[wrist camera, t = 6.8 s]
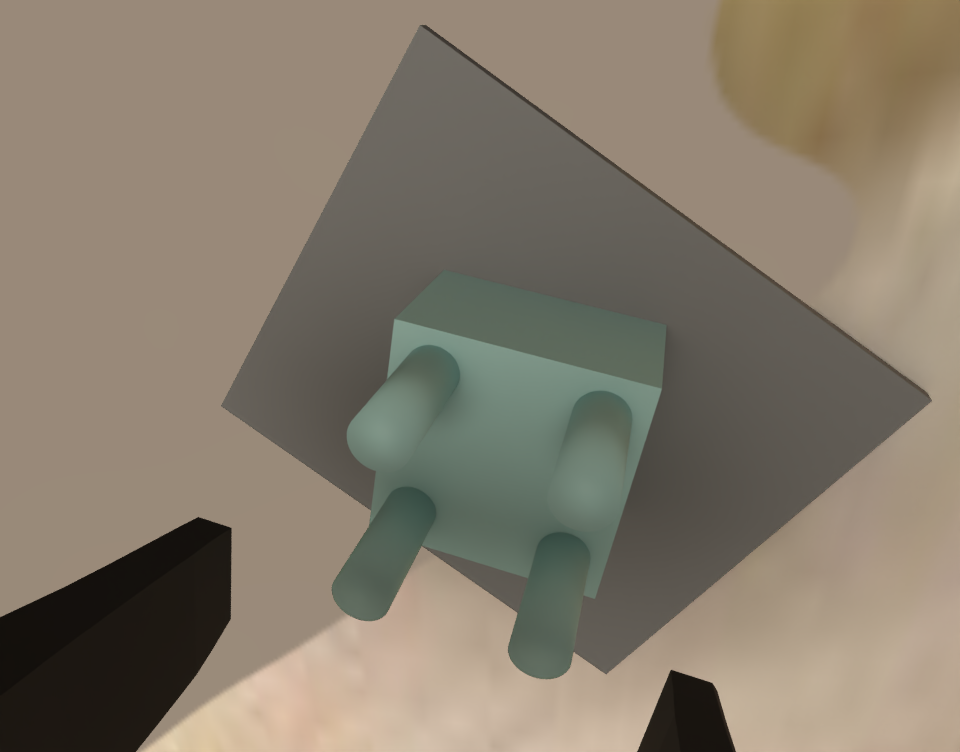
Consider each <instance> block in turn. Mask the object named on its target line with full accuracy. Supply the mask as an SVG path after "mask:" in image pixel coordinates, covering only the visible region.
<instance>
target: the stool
mask: <svg viewBox="0 0 960 752" xmlns="http://www.w3.org/2000/svg"><path fill="white" fill-rule="evenodd" d="M666 327H667V325H664V324H660V323H656V322H652V321H648V320H644V319H640V318H636V317H632V316H628V315H624V314H620V313H616V312H612V311H608V310H604V309H600V308H596V307H592V306H588V305H584V304H580V303H576V302H572V301H568V300H564V299H560V298H556V297H552V296H548V295H543V294H539V293H535V292H531V291H527V290H523V289H519V288H515V287H511V286H507V285H503V284H499V283H495V282H491V281H487V280H483V279H479V278H475V277H471V276H467V275H463V274H459V273H455V272H451V271H447V270H444V271H443V272H442V273H441V274H439V275H438V276H437V277H436V278H435V279H434V280H433V281H432V282H431V283H430V284H429V285H428V286H427V287H426V288H425V289H424V290H423V291H422V292H421V293H420V294H419V295H418V296H417V297H416V298H415V299H414V300H413V301H412V302H411V303H410V304H409V305H408V306H407V307H406V308H405V309H404V310H403V311H402V312H401V313H400V314H399V315H398V316H397V317H396V318H395V319H394V326H393V334H392V342H391V351H390V359H389V367H388V375H387V380H386V381H385V383H384V384H383V385H382V386H381V387H380V388H379V390H378V391H377V392H376V393H375V394H374V395H373V397H372V398H371V399H370V400H369V401H368V402H367V404H366V405H365V406H364V407H363V408H362V409H361V411H360V412H359V413H358V414H357V415H356V416H355V417H354V419H353V420H352V421H351V422H350V424H349V426H348V429H347V443H348V446H349V449H350V451H351V452H352V454H353V455H354V457H355V458H356V459H357V460H358V461H359V462H360V463H361V464H363V465H364V466H366V467H367V468H369V469H371V470H374V471H376V474H375V483H374V491H373V499H372V507H371V516H370V524H369V528H368V529H367V530H366V532H365V533H364V535H363V537H362V538H361V540H360V541H359V543H358V544H357V546H356V548H355V549H354V551H353V552H352V554H351V555H350V557H349V559H348V560H347V562H346V563H345V565H344V566H343V568H342V569H341V571H340V572H339V574H338V575H337V577H336V579H335V580H334V582H333V585H332V594H333V598H334V600H335V602H336V603H337V605H338V606H339V607H340V608H341V609H342V610H343V611H344V612H345V613H346V614H348V615H350V616H351V617H353V618H356V619H359V620H363V621H375V620H378V619H380V618H382V617H383V616H385V615H386V613H387V612H388V610H389V608H390V606H391V604H392V602H393V600H394V598H395V596H396V594H397V592H398V590H399V588H400V587H401V585H402V583H403V581H404V579H405V577H406V575H407V573H408V571H409V569H410V567H411V565H412V563H413V561H414V559H415V557H416V555H417V554H418V552H419V550H420V548H421V546H425V547H428V548H431V549H435V550H438V551H441V552H444V553H448V554H451V555H454V556H457V557H461V558H464V559H467V560H470V561H474V562H477V563H480V564H483V565H486V566H490V567H493V568H496V569H499V570H503V571H506V572H509V573H512V574H516V575H519V576H522V577H525V578H528V580H527V584H526V587H525V591H524V594H523V597H522V601H521V604H520V608H519V611H518V615H517V618H516V621H515V625H514V628H513V632H512V635H511V639H510V642H509V646H508V653H509V656H510V659H511V661H512V662H513V664H514V665H515V666H516V667H517V668H518V669H519V670H521V671H522V672H524V673H525V674H527V675H529V676H532V677H535V678H540V679H553V678H557V677H560V676H562V675H563V674H565V673H566V672H567V671H568V669H569V668H570V665H571V661H572V656H573V650H574V645H575V639H576V634H577V629H578V623H579V618H580V612H581V607H582V602H583V596H587V597H590V598H593V599H595V597H596V594H597V591H598V588H599V585H600V582H601V579H602V575H603V572H604V569H605V566H606V563H607V560H608V557H609V553H610V550H611V547H612V544H613V541H614V538H615V535H616V531H617V528H618V525H619V522H620V519H621V516H622V513H623V510H624V506H625V503H626V500H627V497H628V494H629V491H630V488H631V484H632V481H633V478H634V475H635V472H636V469H637V466H638V463H639V459H640V456H641V453H642V450H643V447H644V444H645V441H646V437H647V434H648V431H649V428H650V425H651V422H652V419H653V415H654V412H655V409H656V406H657V403H658V400H659V397H660V394H661V390H662V382H663V368H664V354H665V340H666Z"/></svg>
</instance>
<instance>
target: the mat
mask: <svg viewBox="0 0 960 752" xmlns="http://www.w3.org/2000/svg"><path fill="white" fill-rule="evenodd" d="M444 270H447V271H451V272H455V273H459V274H463V275H467V276H471V277H475V278H479V279H483V280H487V281H491V282H495V283H499V284H503V285H507V286H511V287H515V288H519V289H523V290H527V291H531V292H535V293H539V294H543V295H548V296H552V297H556V298H560V299H564V300H568V301H572V302H576V303H580V304H584V305H588V306H592V307H596V308H600V309H604V310H608V311H612V312H616V313H620V314H624V315H628V316H632V317H636V318H640V319H644V320H648V321H652V322H656V323H660V324H664V325H667V327H666V340H665V354H664V368H663V382H662V390H661V394H660V397H659V400H658V403H657V406H656V409H655V412H654V415H653V419H652V422H651V425H650V428H649V431H648V434H647V437H646V441H645V444H644V447H643V450H642V453H641V456H640V459H639V463H638V466H637V469H636V472H635V475H634V478H633V481H632V484H631V488H630V491H629V494H628V497H627V500H626V503H625V506H624V510H623V513H622V516H621V519H620V522H619V525H618V528H617V531H616V535H615V538H614V541H613V544H612V547H611V550H610V553H609V557H608V560H607V563H606V566H605V569H604V572H603V575H602V579H601V582H600V585H599V588H598V591H597V594H596V597H595V599H593V598H590V597H587V596H583V602H582V607H581V612H580V618H579V623H578V629H577V634H576V639H575V645H574V650H573V652H575V653H576V654H578V655H579V656H581V657H582V658H583V659H585V660H586V661H588V662H589V663H591V664H592V665H593V666H595V667H596V668H598V669H599V670H601V671H602V672H604V673H605V674H607V673H608V672H609V671H610V670H612V669H613V668H614V667H615V666H616V665H618V664H619V663H620V662H621V661H622V660H624V659H625V658H626V657H627V656H628V655H630V654H631V653H632V652H633V651H634V650H635V649H637V648H638V647H639V646H640V645H641V644H643V643H644V642H645V641H646V640H647V639H649V638H650V637H651V636H652V635H653V634H655V633H656V632H657V631H658V630H659V629H661V628H662V627H663V626H664V625H665V624H666V623H668V622H669V621H670V620H671V619H672V618H674V617H675V616H676V615H677V614H678V613H680V612H681V611H682V610H683V609H684V608H686V607H687V606H688V605H689V604H690V603H692V602H693V601H694V600H695V599H696V598H697V597H699V596H700V595H701V594H702V593H703V592H705V591H706V590H707V589H708V588H709V587H711V586H712V585H713V584H714V583H715V582H717V581H718V580H719V579H720V578H721V577H722V576H724V575H725V574H726V573H727V572H728V571H730V570H731V569H732V568H733V567H734V566H736V565H737V564H738V563H739V562H740V561H742V560H743V559H744V558H745V557H746V556H748V555H749V554H750V553H751V552H752V551H753V550H755V549H756V548H757V547H758V546H759V545H761V544H762V543H763V542H764V541H765V540H767V539H768V538H769V537H770V536H771V535H773V534H774V533H775V532H776V531H777V530H779V529H780V528H781V527H782V526H783V525H784V524H786V523H787V522H788V521H789V520H790V519H792V518H793V517H794V516H795V515H796V514H798V513H799V512H800V511H801V510H802V509H804V508H805V507H806V506H807V505H808V504H809V503H811V502H812V501H813V500H814V499H815V498H817V497H818V496H819V495H820V494H821V493H823V492H824V491H825V490H826V489H827V488H829V487H830V486H831V485H832V484H833V483H835V482H836V481H837V480H838V479H839V478H840V477H842V476H843V475H844V474H845V473H846V472H848V471H849V470H850V469H851V468H852V467H854V466H855V465H856V464H857V463H858V462H860V461H861V460H862V459H863V458H864V457H866V456H867V455H868V454H869V453H870V452H871V451H873V450H874V449H875V448H876V447H877V446H879V445H880V444H881V443H882V442H883V441H885V440H886V439H887V438H888V437H889V436H891V435H892V434H893V433H894V432H895V431H897V430H898V429H899V428H900V427H901V426H902V425H904V424H905V423H906V422H907V421H908V420H910V419H911V418H912V417H913V416H914V415H916V414H917V413H918V412H919V411H920V410H922V409H923V408H924V407H925V406H926V405H927V404H929V403H930V402H931V401H932V400H931V398H930V397H929V395H928V394H927V393H926V392H925V391H924V390H922V389H921V388H920V387H918V386H917V385H916V384H914V383H913V382H911V381H910V380H909V379H907V378H906V377H905V376H903V375H902V374H901V373H899V372H898V371H897V370H895V369H894V368H892V367H891V366H890V365H888V364H887V363H886V362H884V361H883V360H882V359H880V358H879V357H877V356H876V355H875V354H873V353H872V352H871V351H869V350H868V349H867V348H865V347H864V346H862V345H861V344H860V343H858V342H857V341H856V340H854V339H853V338H852V337H850V336H849V335H847V334H846V333H845V332H843V331H842V330H841V329H839V328H838V327H837V326H835V325H834V324H832V323H831V322H830V321H828V320H827V319H826V318H824V317H823V316H822V315H820V314H819V313H817V312H816V311H815V310H813V309H812V308H811V307H809V306H808V305H807V304H805V303H804V302H802V301H801V300H800V299H798V298H797V297H796V296H794V295H793V294H792V293H790V292H789V291H787V290H786V289H785V288H783V287H782V286H781V285H779V284H778V283H776V282H775V281H774V280H772V279H771V278H770V277H768V276H767V275H766V274H764V273H763V272H761V271H760V270H759V269H757V268H756V267H755V266H753V265H752V264H751V263H749V262H748V261H747V260H745V259H744V258H742V257H741V256H740V255H738V254H737V253H736V252H734V251H733V250H732V249H730V248H729V247H727V246H726V245H725V244H723V243H722V242H720V241H719V240H718V239H717V238H715V237H714V236H712V235H711V234H710V233H708V232H707V231H706V230H704V229H703V228H701V227H700V226H699V225H697V224H696V223H695V222H693V221H692V220H691V219H689V218H688V217H687V216H685V215H684V214H683V213H681V212H680V211H678V210H677V209H675V208H674V207H673V206H672V205H670V204H669V203H668V202H666V201H665V200H663V199H662V198H661V197H659V196H658V195H657V194H655V193H654V192H652V191H651V190H650V189H648V188H647V187H646V186H644V185H643V184H642V183H640V182H639V181H638V180H636V179H635V178H633V177H632V176H631V175H629V174H628V173H627V172H625V171H624V170H622V169H621V168H620V167H618V166H617V165H616V164H614V163H613V162H612V161H610V160H609V159H608V158H606V157H605V156H603V155H602V154H601V153H599V152H598V151H597V150H595V149H594V148H593V147H591V146H590V145H588V144H587V143H586V142H584V141H583V140H582V139H580V138H579V137H578V136H576V135H575V134H573V133H572V132H571V131H569V130H568V129H567V128H565V127H564V126H563V125H561V124H560V123H558V122H557V121H556V120H554V119H553V118H552V117H550V116H549V115H547V114H546V113H545V112H543V111H542V110H541V109H539V108H538V107H537V106H535V105H534V104H533V103H531V102H530V101H528V100H527V99H526V98H524V97H523V96H522V95H520V94H519V93H518V92H516V91H515V90H513V89H512V88H511V87H509V86H508V85H506V84H505V83H504V82H503V81H501V80H500V79H498V78H497V77H496V76H494V75H493V74H491V73H490V72H489V71H488V70H486V69H485V68H483V67H482V66H481V65H479V64H478V63H477V62H475V61H474V60H472V59H471V58H470V57H468V56H467V55H466V54H464V53H463V52H462V51H460V50H459V49H457V48H456V47H455V46H454V45H452V44H451V43H449V42H448V41H447V40H445V39H444V38H443V37H441V36H440V35H438V34H437V33H436V32H434V31H433V30H432V29H430V28H429V27H428V26H426V25H420V26H419V28H418V30H417V32H416V34H415V36H414V38H413V40H412V42H411V44H410V45H409V47H408V49H407V51H406V53H405V55H404V57H403V59H402V61H401V63H400V65H399V66H398V69H397V70H396V72H395V74H394V76H393V78H392V80H391V82H390V84H389V86H388V88H387V90H386V91H385V93H384V95H383V97H382V99H381V101H380V103H379V105H378V107H377V109H376V111H375V112H374V114H373V116H372V118H371V120H370V122H369V124H368V126H367V128H366V130H365V132H364V134H363V135H362V138H361V139H360V141H359V143H358V145H357V147H356V149H355V151H354V153H353V154H352V156H351V159H350V160H349V162H348V164H347V166H346V168H345V170H344V172H343V174H342V176H341V178H340V179H339V181H338V183H337V185H336V187H335V189H334V191H333V193H332V195H331V197H330V199H329V201H328V203H327V204H326V206H325V208H324V210H323V212H322V214H321V216H320V218H319V220H318V221H317V223H316V225H315V227H314V229H313V231H312V233H311V235H310V237H309V239H308V241H307V243H306V244H305V246H304V248H303V250H302V252H301V254H300V256H299V258H298V260H297V262H296V264H295V266H294V267H293V269H292V271H291V273H290V275H289V277H288V279H287V281H286V283H285V285H284V287H283V288H282V290H281V292H280V294H279V296H278V298H277V300H276V302H275V304H274V306H273V308H272V310H271V311H270V313H269V315H268V317H267V319H266V321H265V323H264V325H263V327H262V329H261V331H260V333H259V334H258V336H257V338H256V340H255V342H254V344H253V346H252V348H251V350H250V352H249V354H248V355H247V357H246V359H245V361H244V363H243V365H242V367H241V369H240V371H239V373H238V375H237V377H236V378H235V381H234V382H233V384H232V386H231V388H230V390H229V392H228V394H227V396H226V398H225V400H224V401H223V403H222V405H221V406H222V407H223V408H225V409H226V410H228V411H229V412H230V413H232V414H233V415H235V416H236V417H238V418H239V419H240V420H242V421H243V422H245V423H246V424H248V425H249V426H251V427H252V428H253V429H255V430H256V431H258V432H259V433H261V434H262V435H263V436H265V437H266V438H268V439H269V440H271V441H272V442H274V443H275V444H277V445H278V446H279V447H281V448H282V449H284V450H285V451H286V452H288V453H289V454H291V455H292V456H294V457H295V458H296V459H298V460H299V461H301V462H302V463H304V464H305V465H306V466H308V467H310V468H311V469H312V470H314V471H315V472H317V473H318V474H320V475H321V476H322V477H324V478H325V479H327V480H328V481H330V482H331V483H332V484H334V485H335V486H337V487H338V488H339V489H341V490H342V491H344V492H345V493H347V494H348V495H350V496H351V497H353V498H354V499H355V500H357V501H358V502H360V503H361V504H362V505H364V506H365V507H367V508H368V509H370V510H371V507H372V499H373V491H374V483H375V474H376V471H374V470H371V469H369V468H367V467H366V466H364V465H363V464H361V463H360V462H359V461H358V460H357V459H356V458H355V457H354V455H353V454H352V452H351V451H350V449H349V446H348V443H347V429H348V426H349V424H350V422H351V421H352V420H353V419H354V417H355V416H356V415H357V414H358V413H359V412H360V411H361V409H362V408H363V407H364V406H365V405H366V404H367V402H368V401H369V400H370V399H371V398H372V397H373V395H374V394H375V393H376V392H377V391H378V390H379V388H380V387H381V386H382V385H383V384H384V383H385V381H386V380H387V375H388V367H389V359H390V351H391V342H392V334H393V326H394V319H395V318H396V317H397V316H398V315H399V314H400V313H401V312H402V311H403V310H404V309H405V308H406V307H407V306H408V305H409V304H410V303H411V302H412V301H413V300H414V299H415V298H416V297H417V296H418V295H419V294H420V293H421V292H422V291H423V290H424V289H425V288H426V287H427V286H428V285H429V284H430V283H431V282H432V281H433V280H434V279H435V278H436V277H437V276H438V275H439V274H441V273H442V272H443V271H444ZM423 547H424V548H426V549H427V550H428V551H430V552H431V553H433V554H434V555H436V556H437V557H439V558H440V559H441V560H443V561H444V562H446V563H447V564H449V565H450V566H451V567H453V568H454V569H456V570H457V571H459V572H460V573H461V574H463V575H464V576H466V577H467V578H469V579H470V580H472V581H473V582H474V583H476V584H477V585H479V586H480V587H482V588H483V589H484V590H486V591H487V592H489V593H490V594H492V595H493V596H494V597H496V598H497V599H499V600H500V601H502V602H503V603H505V604H506V605H507V606H509V607H510V608H512V609H513V610H515V611H516V612H517V613H518V611H519V608H520V604H521V601H522V597H523V594H524V591H525V587H526V584H527V580H528V578H525V577H522V576H519V575H516V574H512V573H509V572H506V571H503V570H499V569H496V568H493V567H490V566H486V565H483V564H480V563H477V562H474V561H470V560H467V559H464V558H461V557H457V556H454V555H451V554H448V553H444V552H441V551H438V550H435V549H431V548H428V547H425V546H423Z"/></svg>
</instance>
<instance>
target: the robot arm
mask: <svg viewBox="0 0 960 752" xmlns="http://www.w3.org/2000/svg"><path fill="white" fill-rule="evenodd" d="M230 619H231V528H230V527H227V526H224V525H220V524H218V523H215V522H211V521H209V520H205V519H202V518H199V517H198V518H196V519H194V520H192V521H190V522H188V523H186V524H184V525H182V526H180V527H178V528H176V529H174V530H173V531H171V532H169V533H167V534H165V535H163V536H161V537H159V538H158V539H156V540H154V541H152V542H150V543H148V544H146V545H144V546H143V547H141V548H139V549H137V550H135V551H133V552H131V553H129V554H128V555H126V556H124V557H122V558H120V559H118V560H116V561H114V562H113V563H111V564H109V565H107V566H105V567H103V568H101V569H99V570H97V571H95V572H93V573H91V574H89V575H87V576H85V577H83V578H81V579H79V580H77V581H76V582H74V583H72V584H70V585H68V586H66V587H64V588H62V589H59V590H57V591H55V592H53V593H51V594H49V595H47V596H45V597H42V598H40V599H38V600H36V601H34V602H32V603H30V604H28V605H26V606H23V607H21V608H19V609H17V610H15V611H13V612H11V613H8V614H6V615H4V616H2V617H0V752H136V751H137V750H138V748H139V747H140V746H141V745H142V743H143V742H144V741H145V740H146V738H147V737H148V736H149V735H150V733H151V732H152V731H153V729H154V728H155V727H156V726H157V725H158V723H159V722H160V721H161V719H162V718H163V717H164V715H165V714H166V713H167V712H168V711H169V709H170V708H171V707H172V706H173V704H174V703H175V702H176V700H177V699H178V698H179V697H180V695H181V694H182V693H183V692H184V690H185V689H186V688H187V686H188V685H189V684H190V682H191V681H192V680H193V679H194V677H195V676H196V674H197V673H198V671H199V670H200V668H201V667H202V665H203V664H204V662H205V660H206V659H207V657H208V656H209V654H210V653H211V651H212V649H213V648H214V646H215V644H216V643H217V641H218V639H219V638H220V636H221V634H222V633H223V631H224V629H225V628H226V626H227V624H228V623H229V621H230ZM637 752H736V751H735V748H734V745H733V742H732V739H731V735H730V732H729V729H728V726H727V723H726V720H725V716H724V713H723V710H722V706H721V703H720V699H719V696H718V692H717V690H716V688H715V687H714V685H713V683H710V682H707V681H704V680H701V679H698V678H695V677H692V676H689V675H686V674H682V673H679V672H676V671H673V670H671V671H670V673H669V676H668V678H667V681H666V683H665V685H664V688H663V690H662V693H661V695H660V698H659V700H658V703H657V705H656V707H655V710H654V712H653V715H652V717H651V720H650V722H649V725H648V727H647V729H646V732H645V734H644V737H643V739H642V742H641V744H640V747H639V749H638V751H637Z"/></svg>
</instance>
